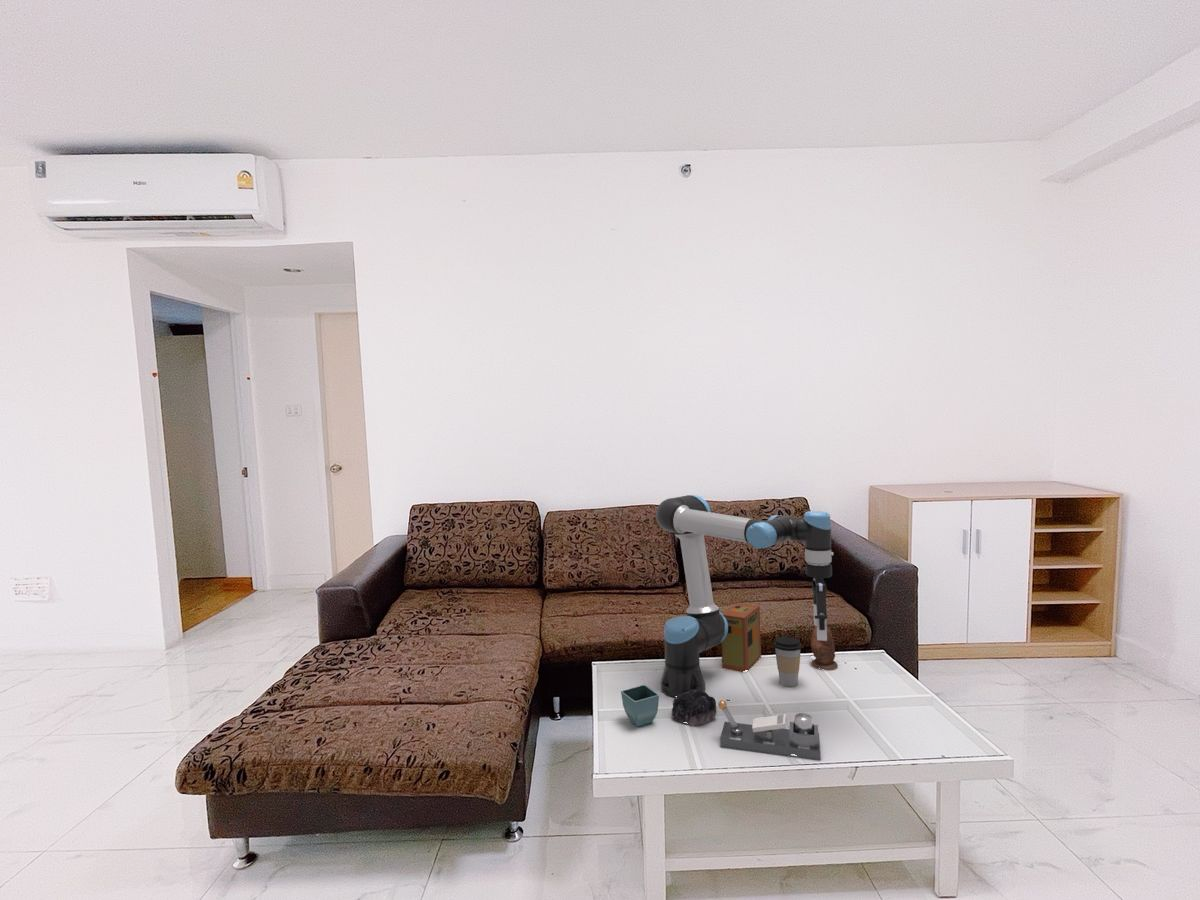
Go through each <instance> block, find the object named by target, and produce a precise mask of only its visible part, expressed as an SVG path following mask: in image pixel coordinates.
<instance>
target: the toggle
mask: <svg viewBox="0 0 1200 900" xmlns="http://www.w3.org/2000/svg"><path fill="white" fill-rule="evenodd" d="M717 706H718V708H719V709H720V710H722V712H723V714H724V715H725V716H724V717H726V719H727V722H730V724H731V726H732V728H734V727H736V726H737V724H736V723H737V722H736V720H735V718H734V717H733V715H732V714H731V712H730V709H728V705H727V702H726V701H725V700H723V699H722V700H719V701H718V704H717Z"/></svg>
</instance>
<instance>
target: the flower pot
mask: <svg viewBox="0 0 1200 900" xmlns="http://www.w3.org/2000/svg"><path fill="white" fill-rule="evenodd" d="M620 695H621V700H622V706H623V709H624V712H625V714H626V716H627V718H628V719H629V721H631V722H632V723H633V724H634V725H635V726H637V727H641V726H646V725H648V724H651V723H653V722H654V720H655V718H656V717H657V714H658V710H659V703H660V702H659V701H660V700H659V699H660V694H659V693H657V692H656V691H655V690H653V689H652V688H650V687H649V686H648V685H646V684H641V685H638V686H635V687H631V688H628V689H623V690H621V691H620Z"/></svg>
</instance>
